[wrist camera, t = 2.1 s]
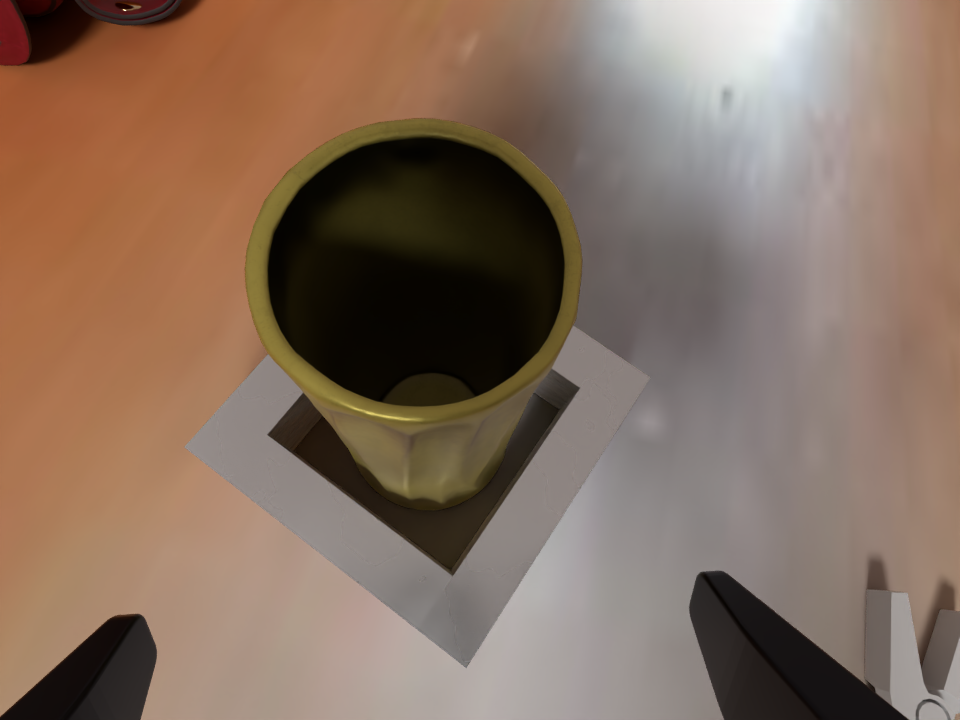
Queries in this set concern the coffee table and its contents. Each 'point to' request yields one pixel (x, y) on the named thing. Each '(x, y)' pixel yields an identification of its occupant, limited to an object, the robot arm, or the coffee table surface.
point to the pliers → (912, 658)
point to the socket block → (384, 550)
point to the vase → (416, 297)
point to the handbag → (6, 4)
